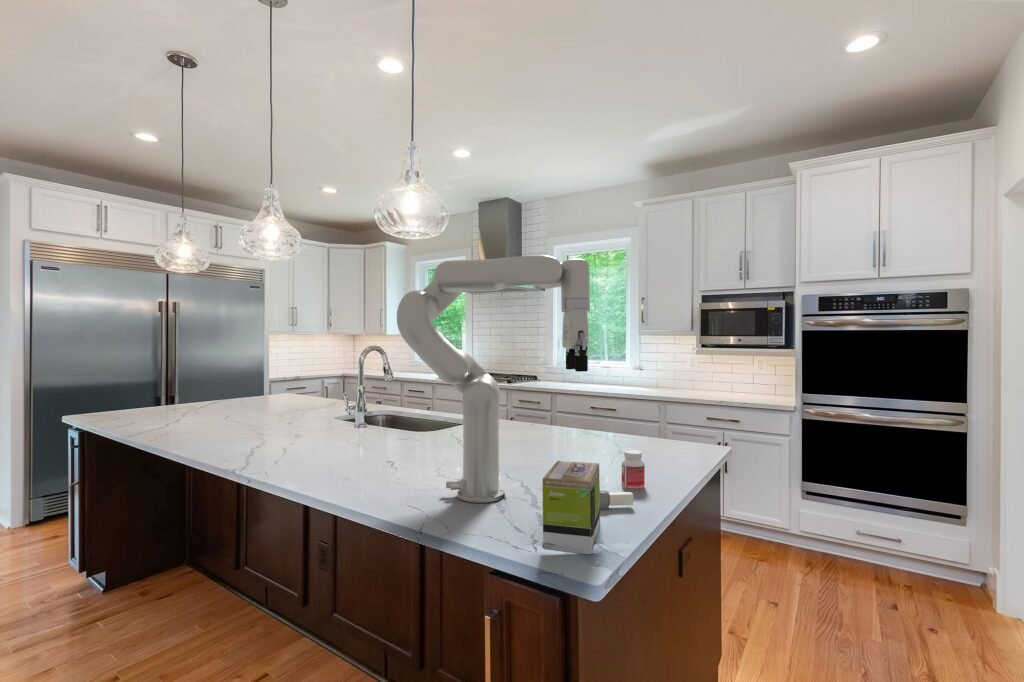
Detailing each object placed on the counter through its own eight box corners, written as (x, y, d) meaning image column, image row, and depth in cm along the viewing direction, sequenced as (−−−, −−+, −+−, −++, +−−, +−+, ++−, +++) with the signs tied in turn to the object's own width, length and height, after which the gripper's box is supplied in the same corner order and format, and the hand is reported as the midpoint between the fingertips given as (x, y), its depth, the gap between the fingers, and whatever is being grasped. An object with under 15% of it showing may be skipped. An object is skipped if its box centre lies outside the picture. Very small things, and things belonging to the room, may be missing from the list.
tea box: (556, 523, 115) (557, 458, 115) (601, 528, 112) (601, 462, 112) (541, 550, 100) (541, 475, 100) (591, 556, 97) (592, 480, 97)
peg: (598, 510, 119) (598, 494, 119) (594, 506, 122) (594, 490, 122) (634, 509, 120) (634, 493, 120) (629, 505, 123) (629, 489, 123)
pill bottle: (649, 492, 138) (649, 452, 138) (633, 496, 135) (633, 455, 135) (632, 487, 143) (632, 448, 143) (616, 490, 140) (617, 451, 140)
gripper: (554, 308, 142) (555, 368, 142) (570, 303, 125) (571, 372, 125) (580, 308, 143) (581, 368, 143) (599, 303, 126) (600, 371, 126)
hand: (576, 370), depth 134 cm, fingers open, 9 cm apart
